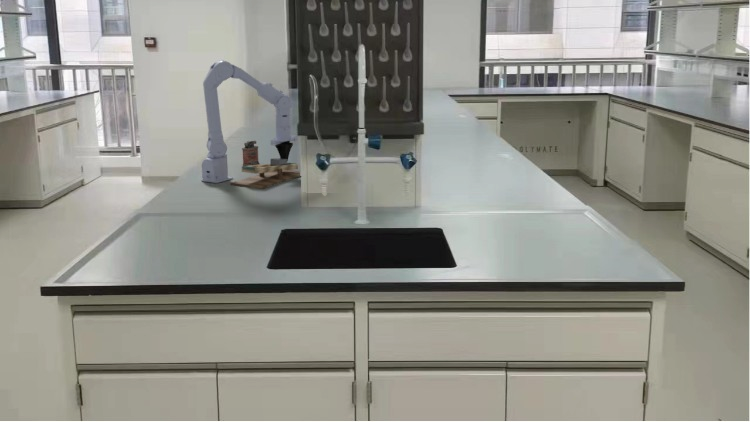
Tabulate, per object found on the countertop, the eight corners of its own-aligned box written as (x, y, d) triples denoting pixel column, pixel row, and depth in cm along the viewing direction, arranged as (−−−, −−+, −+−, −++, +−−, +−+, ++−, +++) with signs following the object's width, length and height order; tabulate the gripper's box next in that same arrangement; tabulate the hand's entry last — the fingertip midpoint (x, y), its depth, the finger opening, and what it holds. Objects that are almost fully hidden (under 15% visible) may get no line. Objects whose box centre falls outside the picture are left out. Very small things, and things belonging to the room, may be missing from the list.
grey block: (278, 167, 271) (279, 159, 271) (270, 166, 273) (270, 158, 273) (286, 166, 276) (286, 158, 275) (278, 165, 278) (278, 158, 277)
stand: (261, 188, 255) (261, 176, 254) (230, 184, 262) (230, 173, 261) (308, 174, 281) (308, 163, 280) (279, 170, 287) (278, 159, 286)
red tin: (246, 166, 296) (245, 142, 293) (240, 165, 298) (239, 141, 295) (260, 163, 302) (259, 140, 299) (255, 163, 304) (254, 139, 301)
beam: (256, 173, 257) (256, 167, 257) (241, 171, 260) (241, 165, 260) (298, 169, 280) (298, 163, 280) (283, 167, 284) (283, 162, 283)
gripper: (280, 129, 266) (282, 165, 270) (302, 124, 279) (303, 159, 282) (265, 128, 269) (266, 163, 273) (287, 123, 282) (288, 157, 285)
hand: (284, 161), depth 278 cm, fingers closed
